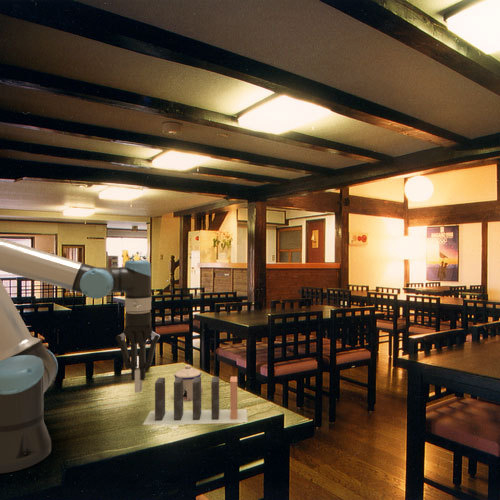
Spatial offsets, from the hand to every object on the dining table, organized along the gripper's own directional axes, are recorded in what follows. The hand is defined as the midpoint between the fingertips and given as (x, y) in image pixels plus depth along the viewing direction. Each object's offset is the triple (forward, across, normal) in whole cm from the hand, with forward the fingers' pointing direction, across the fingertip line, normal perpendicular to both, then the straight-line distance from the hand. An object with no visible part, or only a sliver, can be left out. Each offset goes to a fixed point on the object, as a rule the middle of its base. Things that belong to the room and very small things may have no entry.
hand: (138, 390), depth 116 cm
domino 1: (+8, +6, 0) cm, 10 cm away
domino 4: (+8, +23, 0) cm, 24 cm away
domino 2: (+8, +12, 0) cm, 14 cm away
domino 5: (+8, +28, 0) cm, 30 cm away
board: (+9, +17, 0) cm, 20 cm away
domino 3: (+8, +17, 0) cm, 19 cm away
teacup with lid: (+9, +13, +16) cm, 23 cm away
